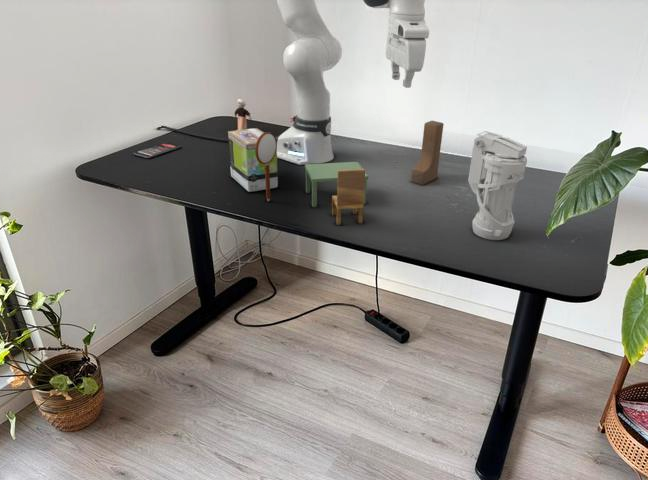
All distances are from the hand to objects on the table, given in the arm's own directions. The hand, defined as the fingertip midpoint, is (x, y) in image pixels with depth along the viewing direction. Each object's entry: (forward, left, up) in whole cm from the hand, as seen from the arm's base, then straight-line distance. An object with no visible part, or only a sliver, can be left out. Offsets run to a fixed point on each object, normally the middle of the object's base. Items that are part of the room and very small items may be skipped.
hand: (401, 83), depth 142 cm
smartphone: (-87, -4, -33) cm, 93 cm away
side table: (-15, -8, -33) cm, 37 cm away
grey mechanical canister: (+30, -6, -33) cm, 45 cm away
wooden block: (+3, +20, -33) cm, 39 cm away
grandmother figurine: (-76, +31, -33) cm, 89 cm away
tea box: (-42, -10, -33) cm, 54 cm away
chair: (-5, -19, -33) cm, 38 cm away
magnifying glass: (-30, -20, -33) cm, 49 cm away
